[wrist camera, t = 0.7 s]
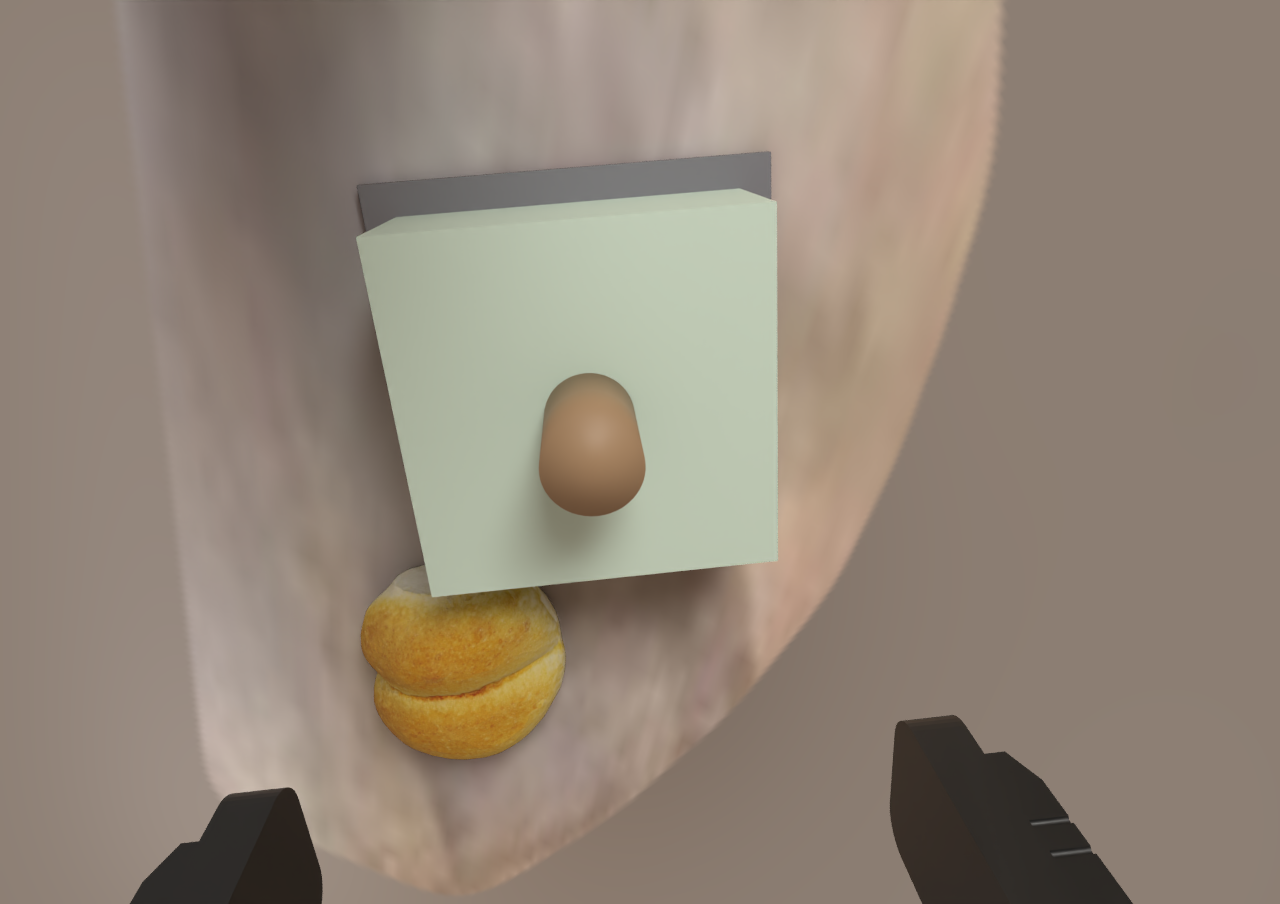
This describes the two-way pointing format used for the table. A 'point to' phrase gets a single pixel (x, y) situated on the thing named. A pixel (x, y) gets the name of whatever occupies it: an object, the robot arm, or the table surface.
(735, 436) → the cover
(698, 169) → the mat
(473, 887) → the table surface
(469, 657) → the bread roll
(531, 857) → the table surface
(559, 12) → the table surface
